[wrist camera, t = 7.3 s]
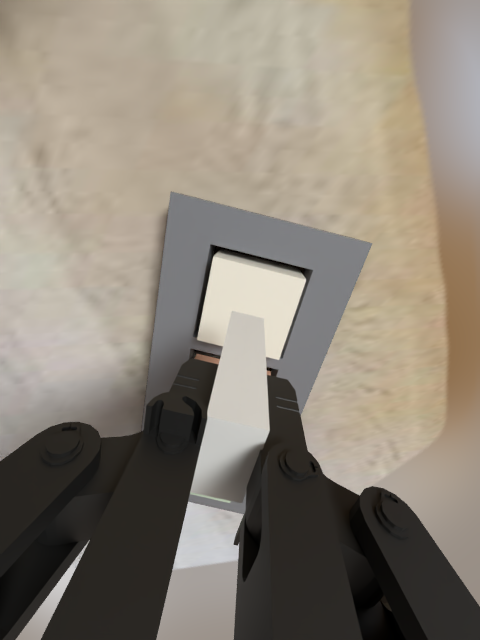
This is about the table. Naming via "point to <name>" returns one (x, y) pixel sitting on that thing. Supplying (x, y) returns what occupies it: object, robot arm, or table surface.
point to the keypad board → (260, 240)
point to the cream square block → (250, 298)
